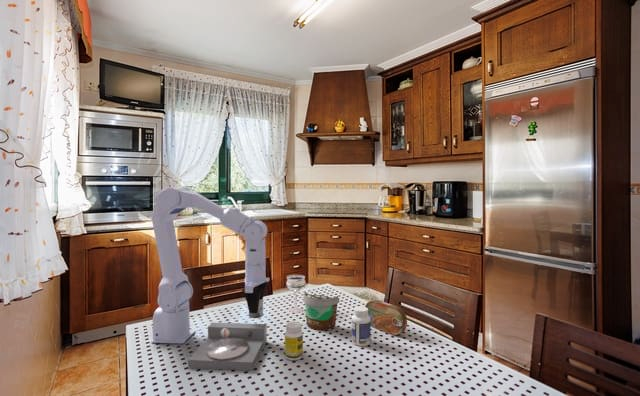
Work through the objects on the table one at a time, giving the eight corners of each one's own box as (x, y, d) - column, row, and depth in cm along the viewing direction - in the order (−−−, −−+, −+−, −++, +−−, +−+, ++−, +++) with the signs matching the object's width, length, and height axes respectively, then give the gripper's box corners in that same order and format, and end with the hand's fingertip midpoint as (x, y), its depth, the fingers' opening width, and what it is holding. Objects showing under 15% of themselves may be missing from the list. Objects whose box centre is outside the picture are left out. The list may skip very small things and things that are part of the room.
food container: (296, 328, 103) (296, 296, 103) (304, 320, 109) (304, 290, 108) (333, 334, 98) (333, 301, 98) (339, 326, 104) (339, 295, 104)
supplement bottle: (300, 361, 83) (300, 329, 83) (282, 359, 84) (282, 327, 84) (304, 352, 88) (304, 321, 88) (287, 350, 89) (287, 320, 88)
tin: (363, 323, 107) (363, 297, 107) (369, 320, 109) (370, 295, 109) (402, 339, 95) (402, 311, 95) (408, 336, 97) (409, 308, 97)
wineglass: (296, 305, 123) (296, 273, 123) (309, 310, 118) (309, 277, 118) (282, 310, 118) (282, 277, 118) (295, 315, 113) (295, 280, 113)
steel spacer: (247, 318, 93) (247, 302, 93) (250, 312, 97) (250, 297, 97) (261, 318, 93) (261, 302, 92) (264, 313, 97) (264, 297, 96)
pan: (199, 359, 80) (199, 356, 80) (215, 339, 91) (215, 337, 91) (241, 361, 79) (241, 358, 79) (252, 341, 90) (252, 338, 90)
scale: (188, 367, 80) (187, 347, 80) (212, 339, 95) (212, 322, 95) (252, 370, 79) (252, 350, 79) (266, 341, 94) (266, 324, 94)
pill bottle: (372, 340, 95) (372, 307, 95) (367, 348, 90) (367, 313, 90) (354, 336, 97) (355, 304, 97) (348, 344, 92) (349, 310, 92)
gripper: (263, 269, 87) (263, 320, 87) (274, 258, 101) (274, 301, 102) (237, 269, 87) (237, 319, 87) (251, 257, 102) (251, 300, 102)
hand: (255, 309), depth 95 cm, fingers closed on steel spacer, 4 cm apart
